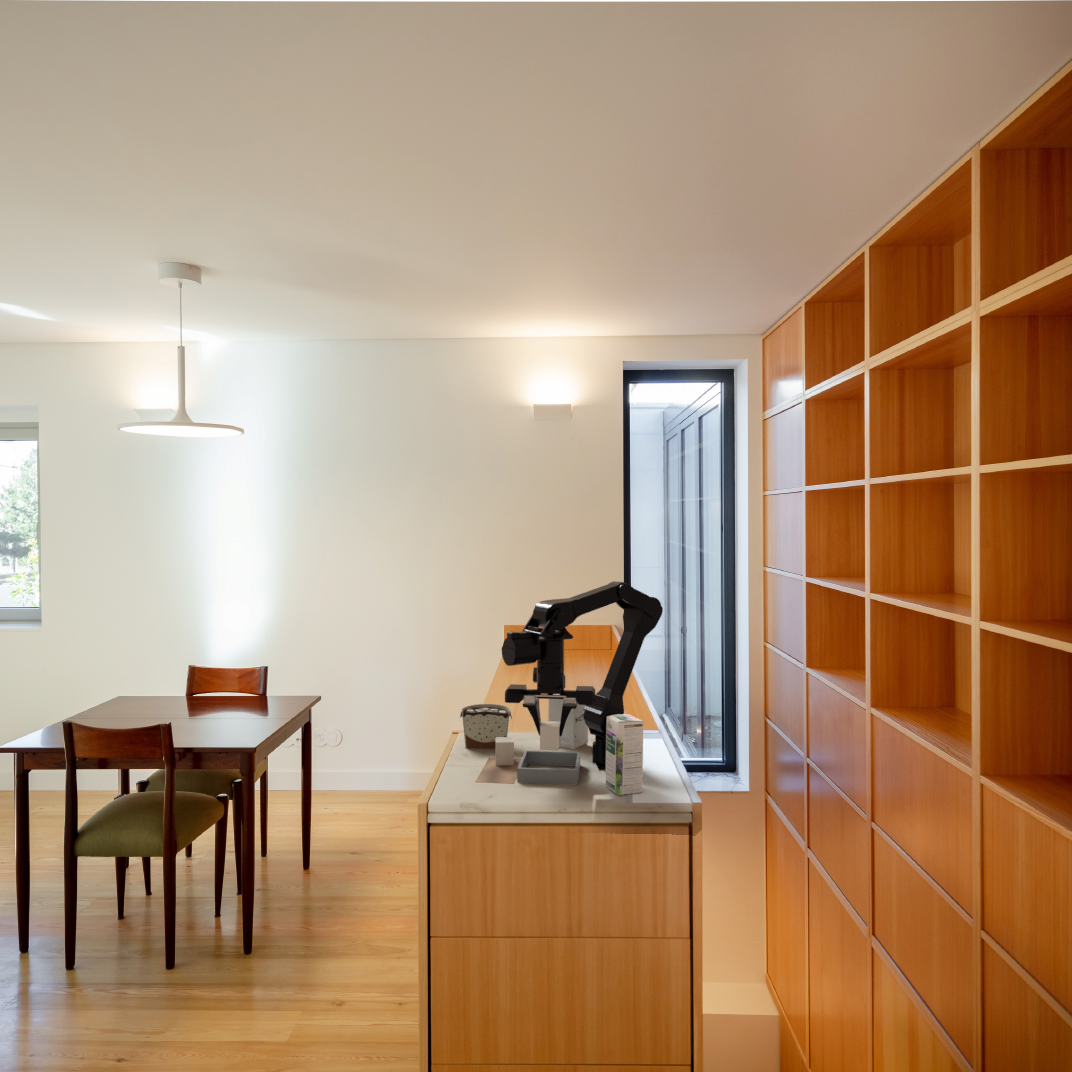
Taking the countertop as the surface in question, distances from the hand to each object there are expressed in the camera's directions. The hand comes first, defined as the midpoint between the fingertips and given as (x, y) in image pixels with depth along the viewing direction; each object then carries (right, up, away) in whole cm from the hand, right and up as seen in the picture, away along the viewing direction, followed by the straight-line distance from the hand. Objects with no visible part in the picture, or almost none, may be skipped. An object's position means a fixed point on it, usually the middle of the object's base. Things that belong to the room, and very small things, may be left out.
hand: (550, 735), depth 150 cm
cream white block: (-10, -8, +7) cm, 15 cm away
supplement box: (+5, -9, +22) cm, 24 cm away
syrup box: (+15, -9, -7) cm, 19 cm away
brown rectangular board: (-11, -9, +2) cm, 14 cm away
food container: (-15, -9, +20) cm, 26 cm away
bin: (0, -9, 0) cm, 9 cm away
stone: (0, -3, 0) cm, 3 cm away
